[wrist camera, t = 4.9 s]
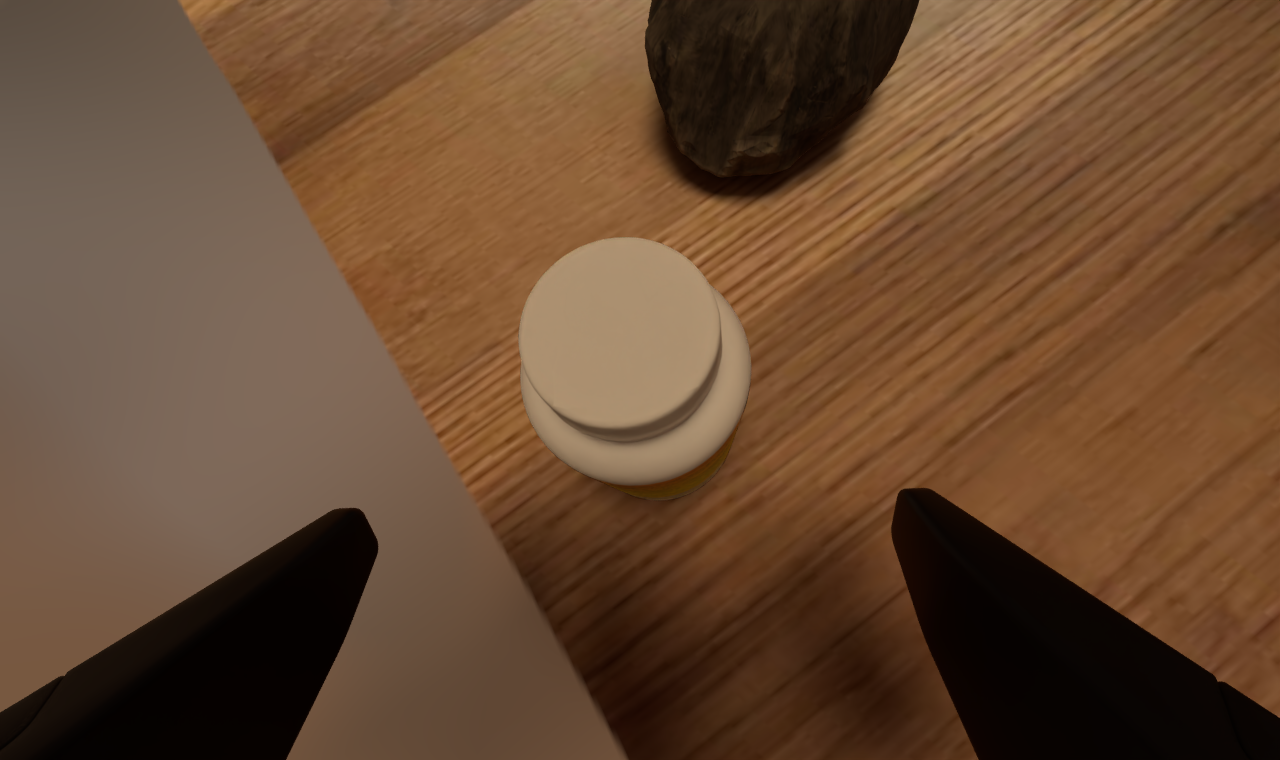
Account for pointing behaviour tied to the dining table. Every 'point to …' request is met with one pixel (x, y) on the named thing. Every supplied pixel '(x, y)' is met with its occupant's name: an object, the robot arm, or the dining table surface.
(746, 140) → the rock
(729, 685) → the dining table surface
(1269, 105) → the dining table surface
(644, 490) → the supplement bottle
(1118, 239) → the dining table surface
